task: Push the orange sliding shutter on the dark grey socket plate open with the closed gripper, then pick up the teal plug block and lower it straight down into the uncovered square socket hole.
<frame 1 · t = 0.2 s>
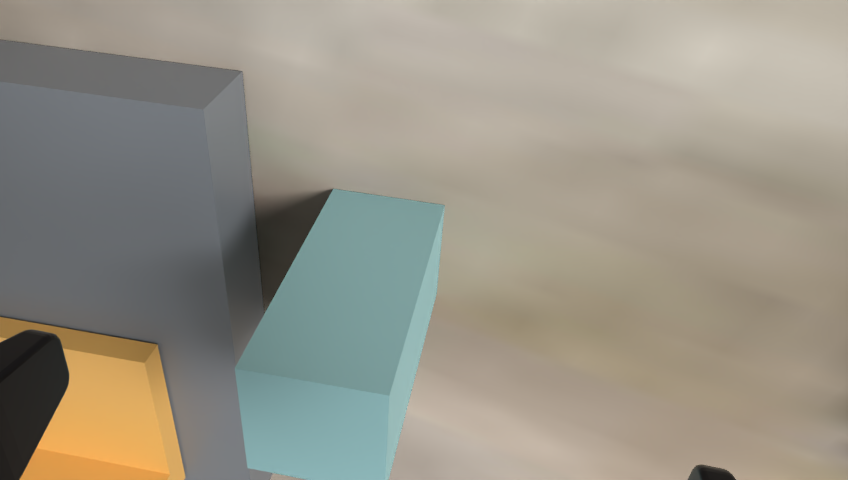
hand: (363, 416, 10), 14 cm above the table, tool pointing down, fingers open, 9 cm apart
plug: (386, 243, 26), on the table
shutter: (56, 431, 28), point 5 cm above the table, slide at 0.0 cm
socket plate: (102, 278, 30), on the table
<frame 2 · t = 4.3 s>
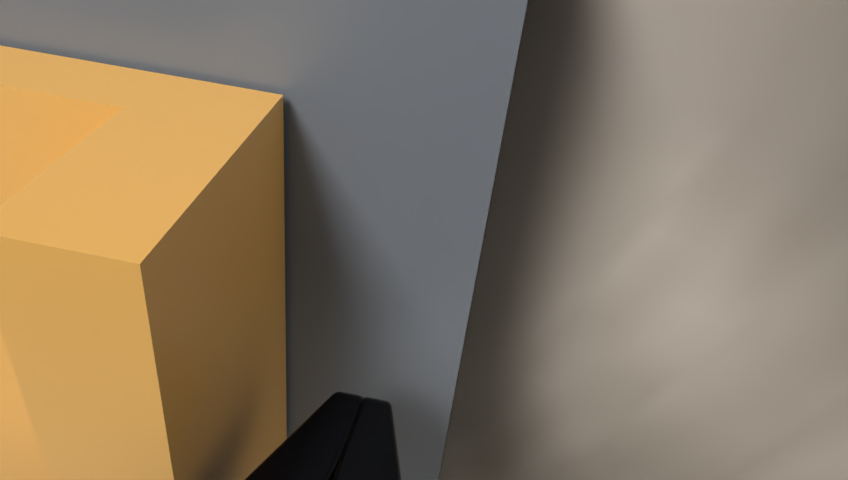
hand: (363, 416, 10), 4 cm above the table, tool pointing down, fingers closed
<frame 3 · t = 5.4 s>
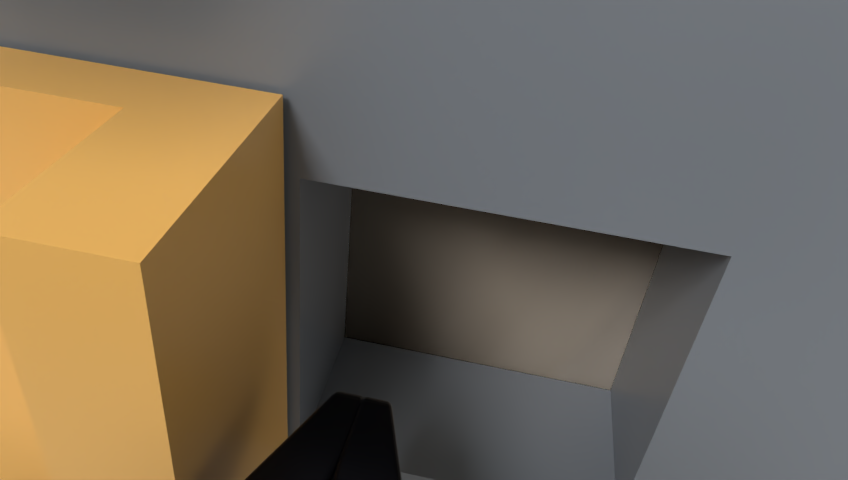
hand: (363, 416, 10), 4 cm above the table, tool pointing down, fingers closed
socket plate: (288, 217, 14), on the table
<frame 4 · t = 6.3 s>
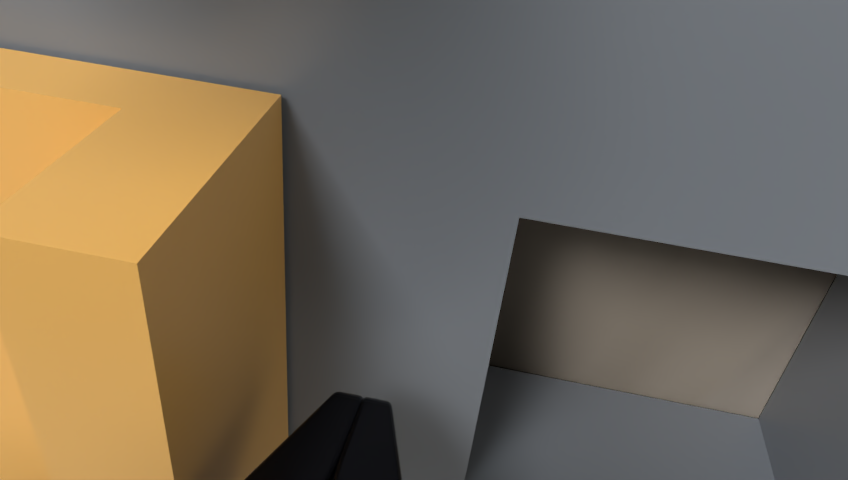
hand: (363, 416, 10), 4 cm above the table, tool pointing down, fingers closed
socket plate: (440, 244, 13), on the table
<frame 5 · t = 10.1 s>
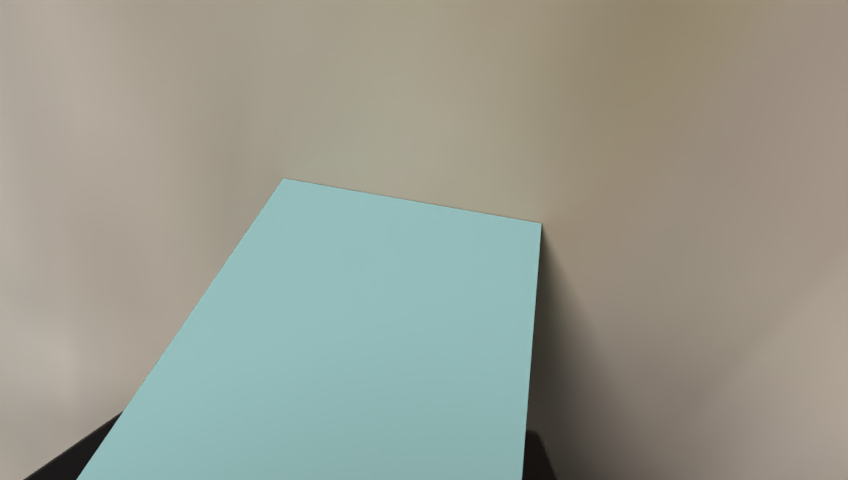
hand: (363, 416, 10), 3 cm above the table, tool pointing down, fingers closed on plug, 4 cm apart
plug: (400, 301, 12), on the table, touching gripper
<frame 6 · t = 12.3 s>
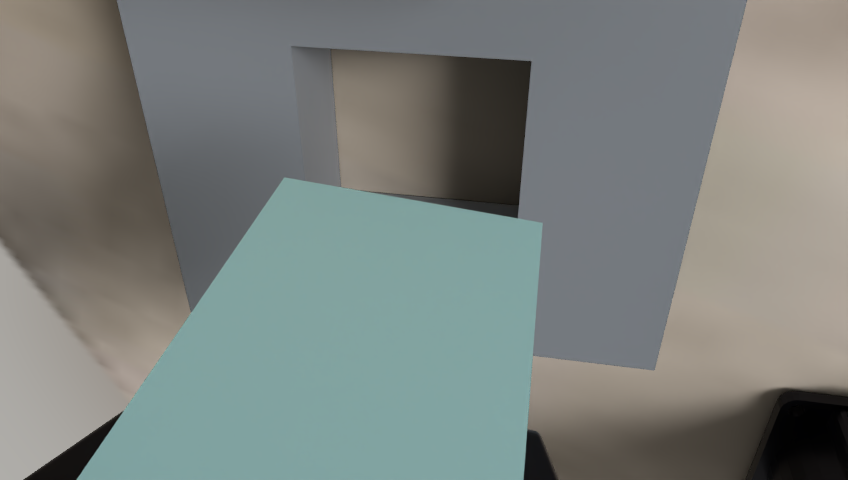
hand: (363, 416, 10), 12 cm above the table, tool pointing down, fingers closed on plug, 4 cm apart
plug: (401, 300, 12), point 9 cm above the table, touching gripper
when the fingers open (4 cm above the table, at t = 14.6 s): plug drops 1 cm, resting in socket plate.
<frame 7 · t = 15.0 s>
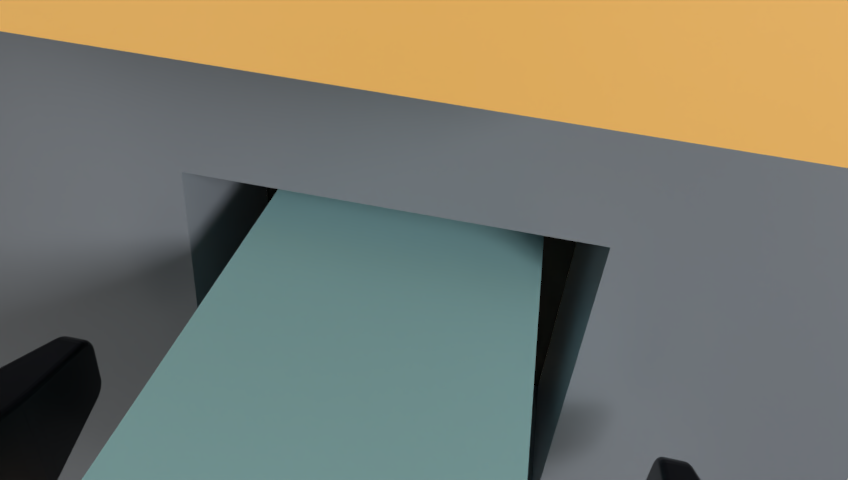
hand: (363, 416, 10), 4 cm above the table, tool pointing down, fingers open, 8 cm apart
plug: (416, 250, 13), resting in socket plate
socket plate: (437, 39, 11), on the table
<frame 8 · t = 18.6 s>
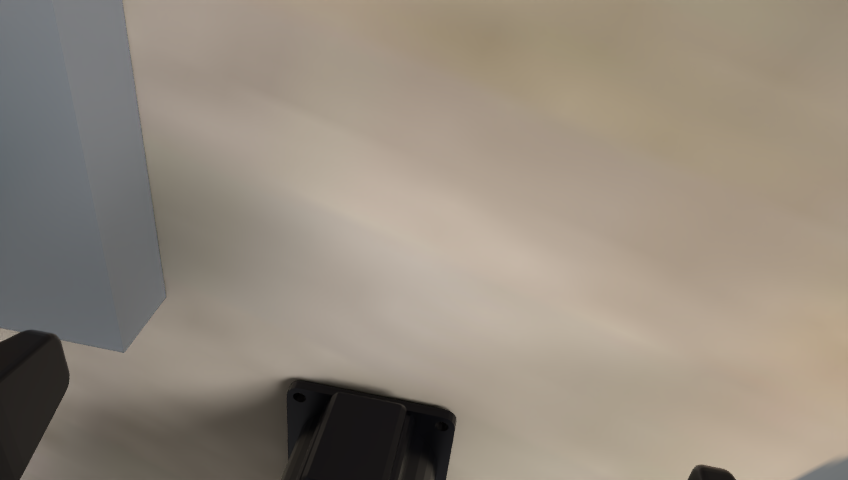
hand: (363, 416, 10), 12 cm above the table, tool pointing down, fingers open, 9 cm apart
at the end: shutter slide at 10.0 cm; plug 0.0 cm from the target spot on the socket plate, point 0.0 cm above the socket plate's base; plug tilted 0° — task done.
